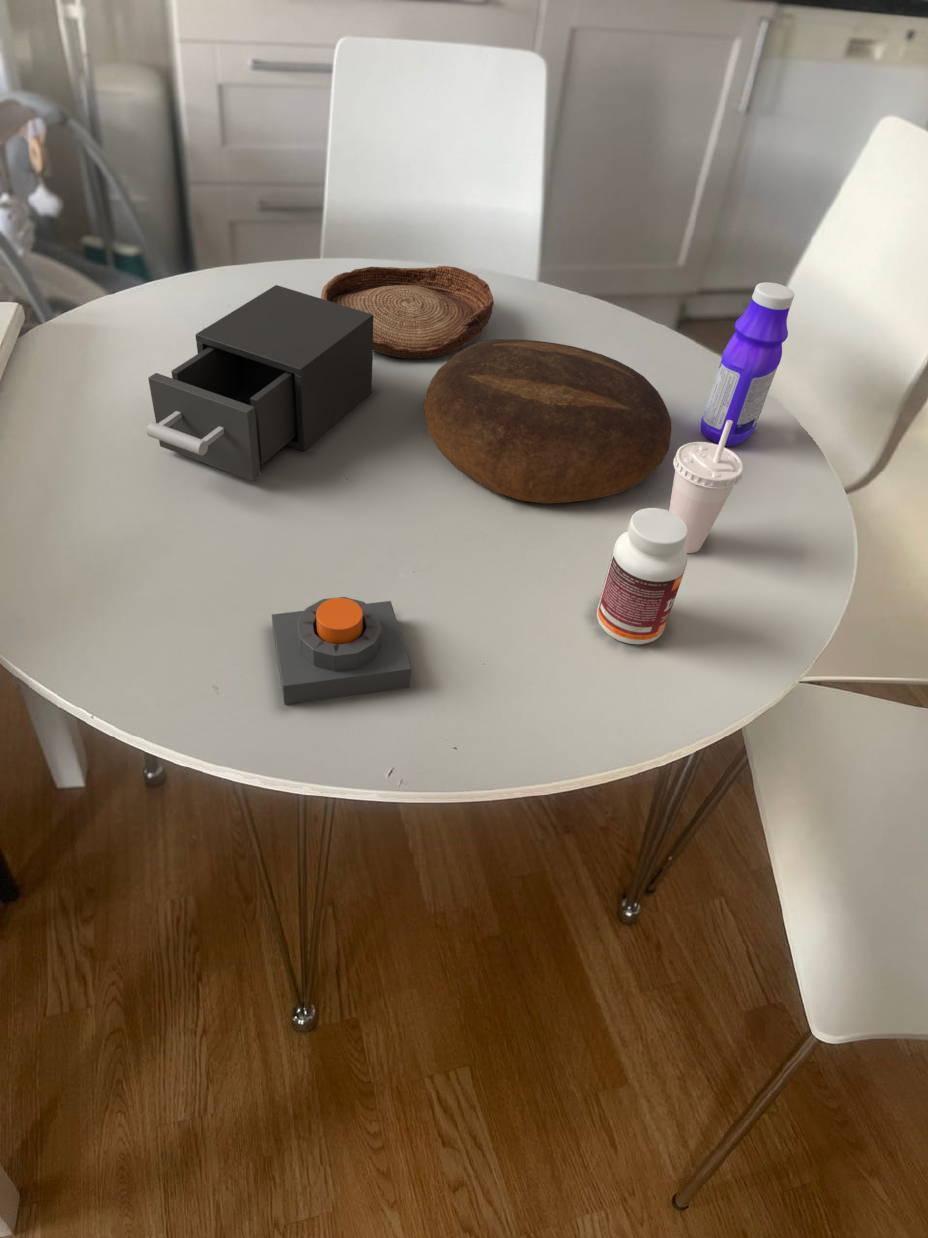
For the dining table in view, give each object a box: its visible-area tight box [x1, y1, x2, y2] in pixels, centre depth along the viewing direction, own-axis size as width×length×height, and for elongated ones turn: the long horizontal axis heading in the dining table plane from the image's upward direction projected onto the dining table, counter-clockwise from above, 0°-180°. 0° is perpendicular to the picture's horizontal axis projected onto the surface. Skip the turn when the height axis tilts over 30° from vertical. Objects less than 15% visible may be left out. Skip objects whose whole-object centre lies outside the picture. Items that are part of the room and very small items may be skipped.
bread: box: [423, 338, 673, 504], centre depth 97 cm, size 28×27×9 cm
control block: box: [271, 596, 412, 705], centre depth 71 cm, size 10×8×4 cm
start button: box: [316, 597, 363, 645], centre depth 70 cm, size 4×4×2 cm
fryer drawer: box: [146, 346, 298, 482], centre depth 89 cm, size 18×11×8 cm, turn 155°
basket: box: [320, 265, 495, 360], centre depth 115 cm, size 22×20×5 cm
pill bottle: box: [596, 507, 688, 645], centre depth 75 cm, size 6×6×11 cm
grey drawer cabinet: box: [195, 284, 374, 452], centre depth 97 cm, size 15×13×10 cm
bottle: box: [700, 281, 795, 447], centre depth 98 cm, size 7×6×17 cm
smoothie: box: [668, 420, 745, 554], centre depth 84 cm, size 6×6×14 cm
